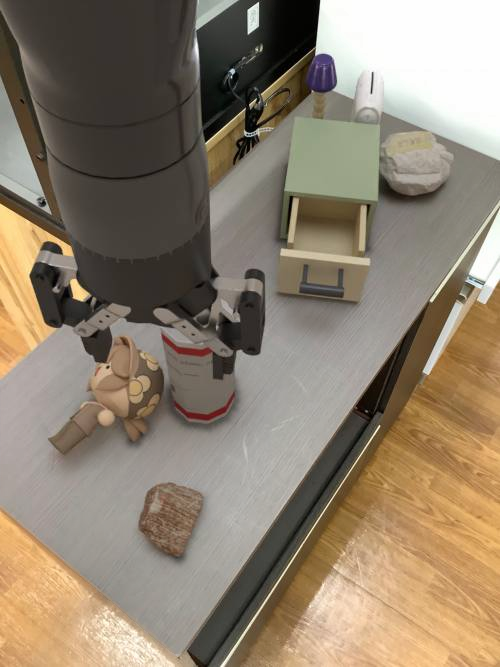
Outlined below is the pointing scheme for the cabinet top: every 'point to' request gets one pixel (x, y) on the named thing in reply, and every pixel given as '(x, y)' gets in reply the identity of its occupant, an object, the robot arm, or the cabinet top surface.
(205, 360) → the spray bottle
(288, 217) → the cabinet
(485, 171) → the cabinet top surface
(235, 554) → the cabinet top surface
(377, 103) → the photo printer
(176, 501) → the stone
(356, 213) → the drawer
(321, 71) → the toy lamp
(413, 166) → the fossil replica
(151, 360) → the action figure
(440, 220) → the cabinet top surface
